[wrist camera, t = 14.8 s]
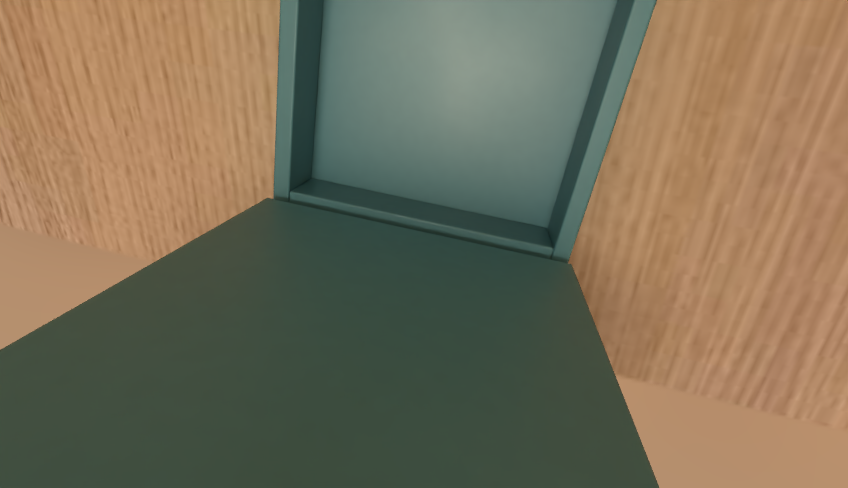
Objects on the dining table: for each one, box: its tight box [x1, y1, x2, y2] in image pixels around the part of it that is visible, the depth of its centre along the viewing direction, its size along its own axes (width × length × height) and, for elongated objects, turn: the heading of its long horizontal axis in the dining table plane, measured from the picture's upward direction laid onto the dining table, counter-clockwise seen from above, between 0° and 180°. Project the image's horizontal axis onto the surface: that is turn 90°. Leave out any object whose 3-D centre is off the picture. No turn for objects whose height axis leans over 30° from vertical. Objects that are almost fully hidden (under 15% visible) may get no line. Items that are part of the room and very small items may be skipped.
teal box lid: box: [0, 198, 659, 488], centre depth 8 cm, size 9×9×1 cm
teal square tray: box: [273, 0, 657, 263], centre depth 12 cm, size 9×9×2 cm
